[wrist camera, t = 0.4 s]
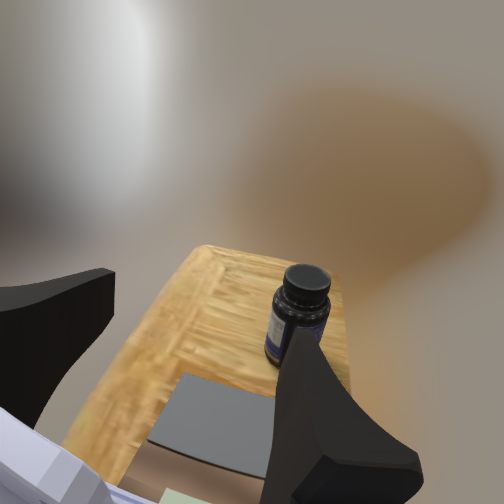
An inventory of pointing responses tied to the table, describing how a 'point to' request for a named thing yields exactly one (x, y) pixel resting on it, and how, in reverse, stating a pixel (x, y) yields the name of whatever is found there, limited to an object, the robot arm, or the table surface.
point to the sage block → (178, 498)
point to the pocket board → (186, 478)
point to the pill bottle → (297, 308)
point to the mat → (217, 425)
